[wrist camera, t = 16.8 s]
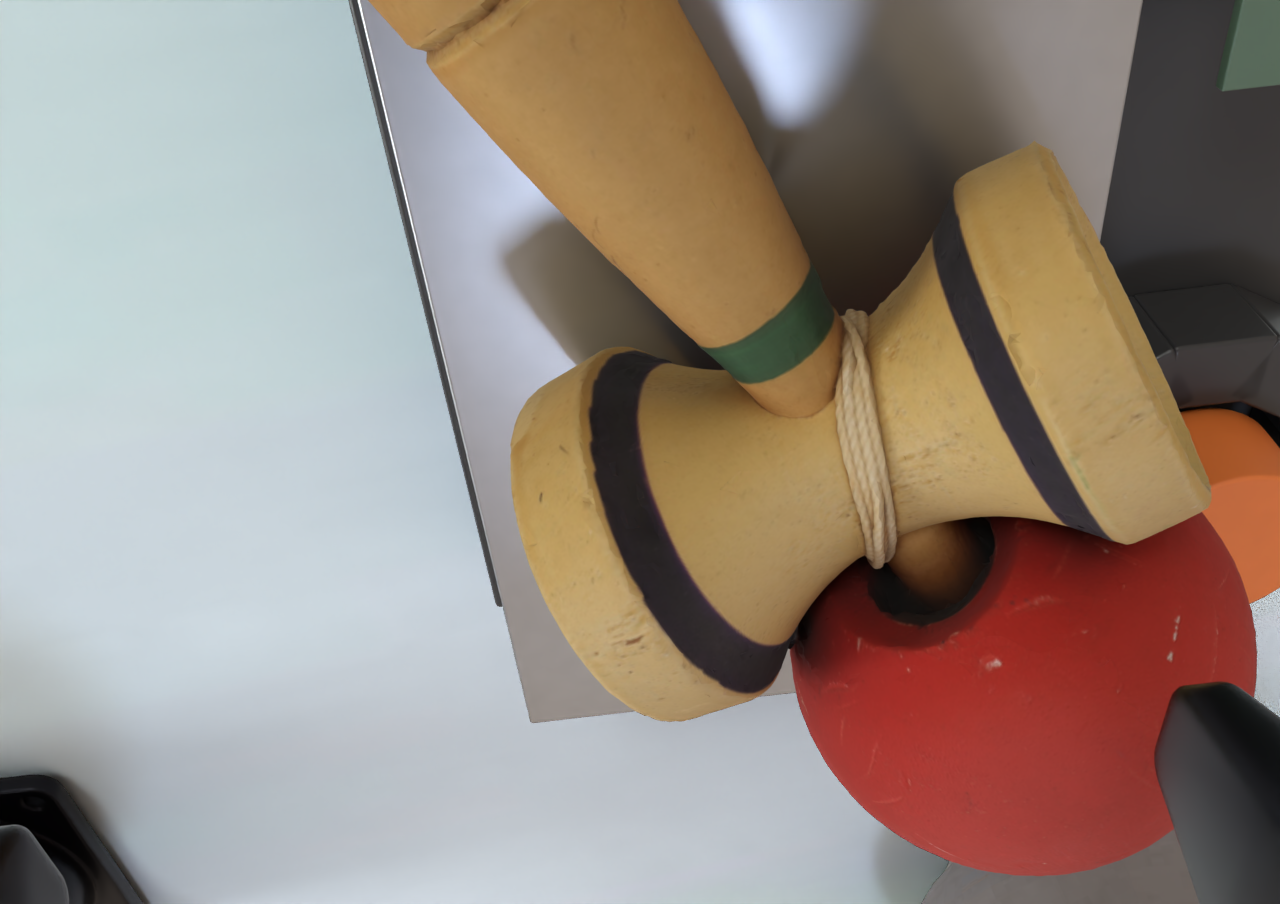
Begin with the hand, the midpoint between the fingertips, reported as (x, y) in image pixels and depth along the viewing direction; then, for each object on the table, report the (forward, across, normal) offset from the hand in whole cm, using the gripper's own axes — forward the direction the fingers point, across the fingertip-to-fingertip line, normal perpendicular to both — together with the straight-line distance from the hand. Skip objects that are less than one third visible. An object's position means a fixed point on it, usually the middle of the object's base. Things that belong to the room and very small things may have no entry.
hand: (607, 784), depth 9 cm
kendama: (+8, -2, 0) cm, 8 cm away
